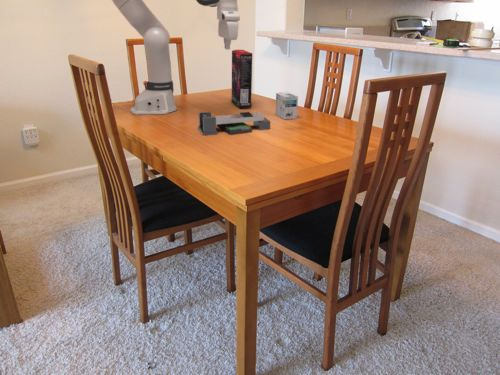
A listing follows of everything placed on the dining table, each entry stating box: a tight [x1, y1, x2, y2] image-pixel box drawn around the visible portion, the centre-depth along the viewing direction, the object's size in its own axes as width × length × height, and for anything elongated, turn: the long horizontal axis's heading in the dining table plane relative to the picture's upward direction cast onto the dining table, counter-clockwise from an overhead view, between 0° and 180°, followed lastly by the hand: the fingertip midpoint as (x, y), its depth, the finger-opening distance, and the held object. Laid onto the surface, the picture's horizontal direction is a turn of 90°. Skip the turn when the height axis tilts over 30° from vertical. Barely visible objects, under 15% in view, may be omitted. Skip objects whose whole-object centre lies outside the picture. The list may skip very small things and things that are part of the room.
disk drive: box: [216, 122, 253, 136], centre depth 178 cm, size 10×3×15 cm
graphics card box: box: [231, 49, 253, 109], centre depth 213 cm, size 17×7×27 cm, turn 17°
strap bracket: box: [197, 110, 271, 136], centre depth 177 cm, size 30×11×7 cm, turn 107°
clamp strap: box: [209, 111, 265, 125], centre depth 176 cm, size 25×6×3 cm, turn 107°
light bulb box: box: [275, 91, 299, 120], centre depth 196 cm, size 11×7×11 cm, turn 22°
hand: (227, 49), depth 184 cm, fingers closed
